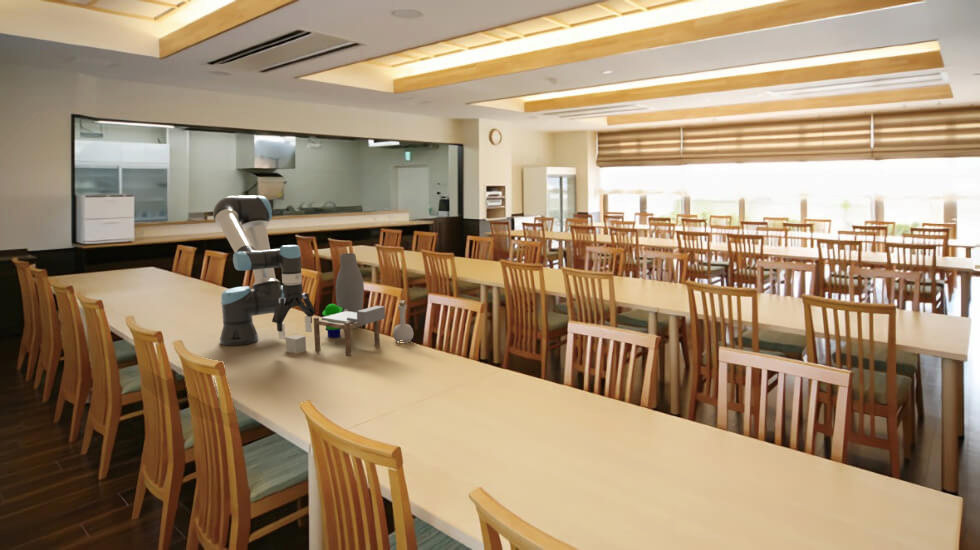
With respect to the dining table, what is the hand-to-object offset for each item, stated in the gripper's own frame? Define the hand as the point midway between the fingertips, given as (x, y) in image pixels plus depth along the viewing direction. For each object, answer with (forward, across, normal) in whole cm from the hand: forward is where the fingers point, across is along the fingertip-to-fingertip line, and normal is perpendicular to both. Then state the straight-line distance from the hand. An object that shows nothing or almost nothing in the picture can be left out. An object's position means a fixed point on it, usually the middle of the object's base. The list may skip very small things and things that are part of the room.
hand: (295, 335), depth 235 cm
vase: (+6, +42, +10) cm, 44 cm away
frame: (+7, +14, -14) cm, 21 cm away
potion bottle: (+7, +33, -28) cm, 44 cm away
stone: (+7, 0, +1) cm, 7 cm away
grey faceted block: (-6, +14, -19) cm, 24 cm away
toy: (+7, +24, +4) cm, 25 cm away
